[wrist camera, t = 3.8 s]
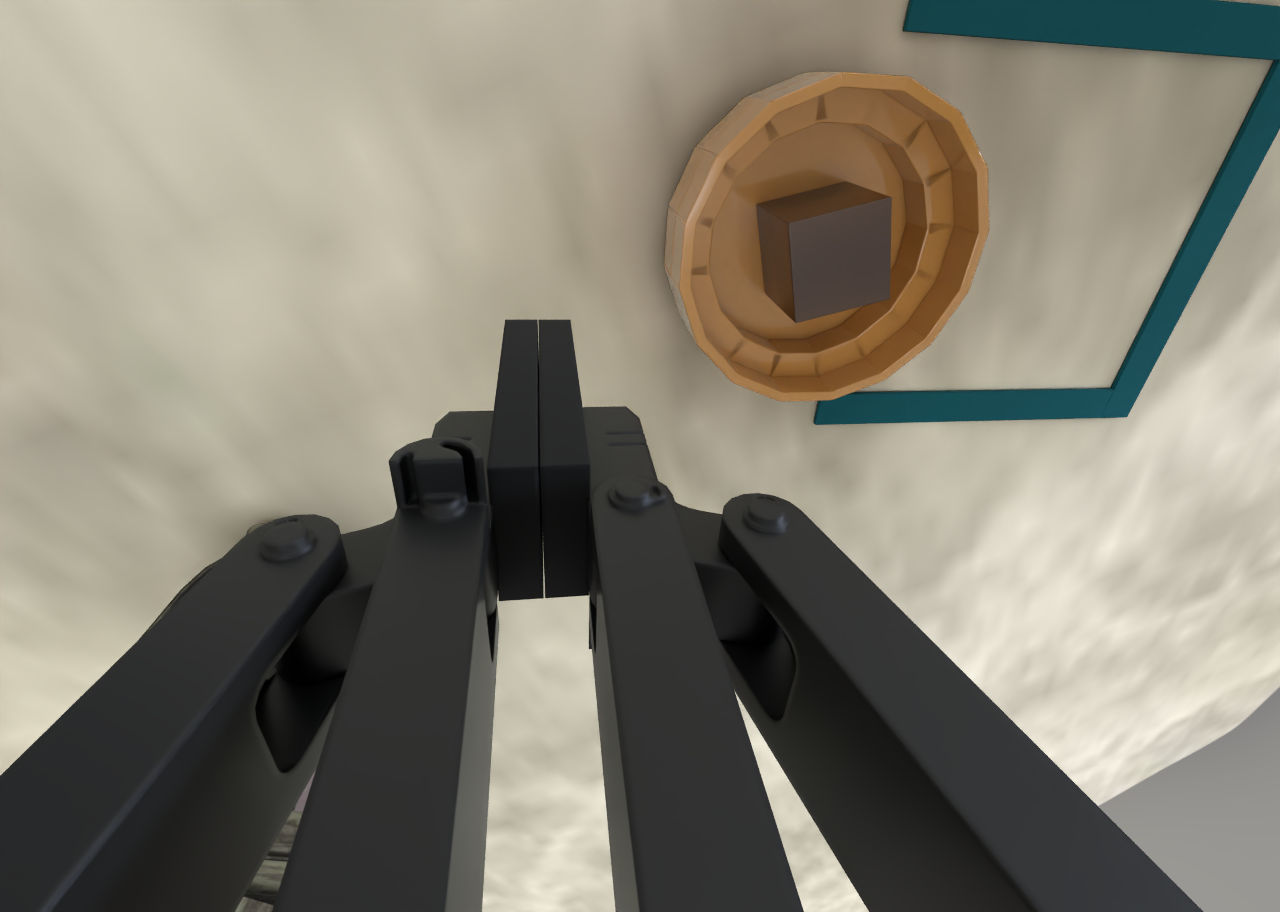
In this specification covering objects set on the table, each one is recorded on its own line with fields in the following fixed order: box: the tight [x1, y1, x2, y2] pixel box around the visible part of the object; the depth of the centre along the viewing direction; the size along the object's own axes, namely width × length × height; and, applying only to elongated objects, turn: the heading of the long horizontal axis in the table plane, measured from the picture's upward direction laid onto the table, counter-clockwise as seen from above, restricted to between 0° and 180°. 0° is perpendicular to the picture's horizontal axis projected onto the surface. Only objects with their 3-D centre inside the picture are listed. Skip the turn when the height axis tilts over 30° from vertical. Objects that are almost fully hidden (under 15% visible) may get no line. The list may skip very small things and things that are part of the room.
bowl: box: [664, 72, 989, 401], centre depth 29 cm, size 14×14×4 cm
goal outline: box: [814, 0, 1280, 425], centre depth 33 cm, size 22×22×1 cm
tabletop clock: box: [143, 524, 316, 912], centre depth 28 cm, size 14×9×25 cm, turn 56°
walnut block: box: [756, 181, 892, 323], centre depth 29 cm, size 4×4×4 cm
